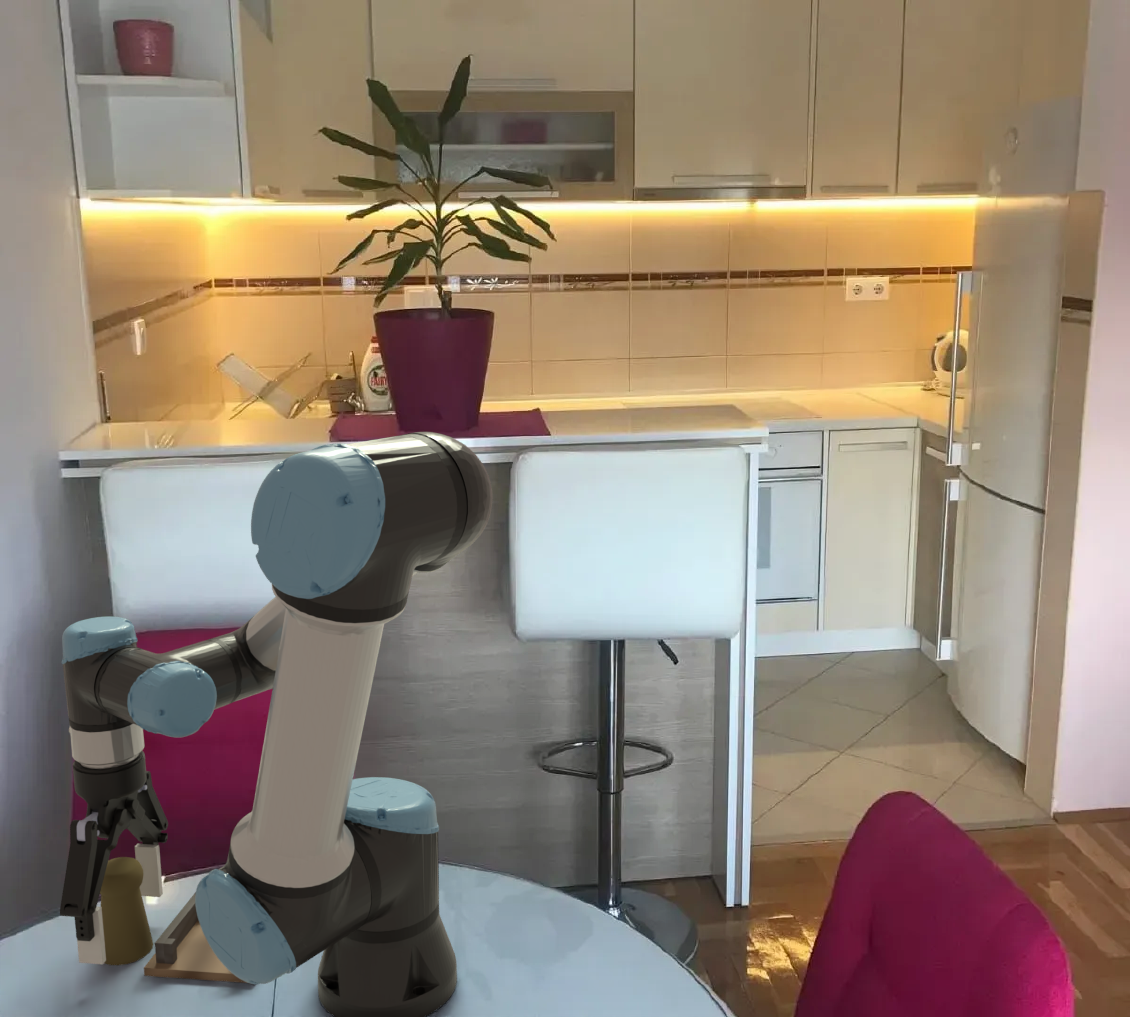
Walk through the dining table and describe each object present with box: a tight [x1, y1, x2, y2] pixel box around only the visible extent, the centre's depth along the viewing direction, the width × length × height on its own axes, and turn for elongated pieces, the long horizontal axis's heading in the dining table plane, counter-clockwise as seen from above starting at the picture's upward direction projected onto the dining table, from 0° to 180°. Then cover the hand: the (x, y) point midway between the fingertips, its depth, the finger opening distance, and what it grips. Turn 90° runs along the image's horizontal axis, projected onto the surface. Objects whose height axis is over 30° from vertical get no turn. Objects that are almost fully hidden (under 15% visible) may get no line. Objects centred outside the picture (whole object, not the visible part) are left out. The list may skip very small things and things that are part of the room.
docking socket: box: [143, 891, 248, 984], centre depth 131 cm, size 13×13×4 cm
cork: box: [100, 856, 154, 966], centre depth 129 cm, size 6×6×11 cm
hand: (123, 926), depth 130 cm, fingers open, 13 cm apart
